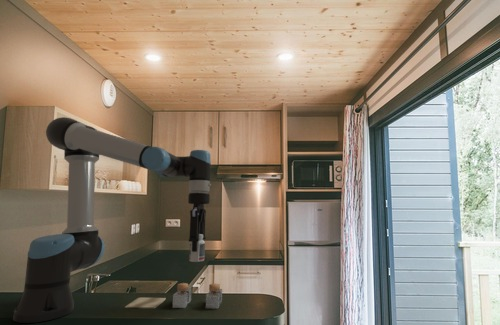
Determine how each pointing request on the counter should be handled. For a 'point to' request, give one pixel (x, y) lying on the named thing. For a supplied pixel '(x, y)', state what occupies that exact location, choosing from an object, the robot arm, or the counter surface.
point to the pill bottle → (201, 249)
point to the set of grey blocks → (185, 297)
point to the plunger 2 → (214, 287)
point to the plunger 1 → (182, 287)
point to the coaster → (145, 303)
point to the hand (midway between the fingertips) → (196, 259)
